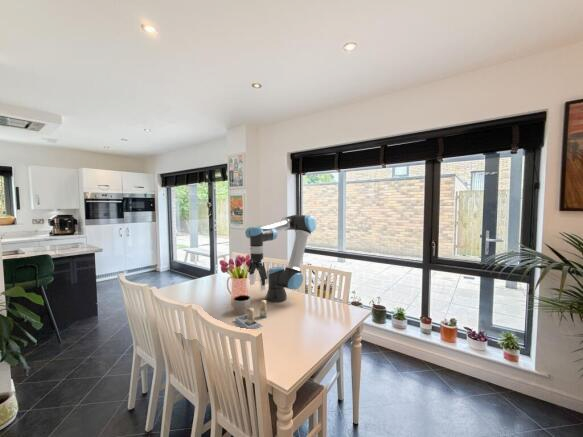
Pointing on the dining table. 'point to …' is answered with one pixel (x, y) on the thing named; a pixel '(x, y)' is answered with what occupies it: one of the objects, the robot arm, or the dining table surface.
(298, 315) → the dining table surface
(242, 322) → the board
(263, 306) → the peg
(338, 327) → the dining table surface
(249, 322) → the peg
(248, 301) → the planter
